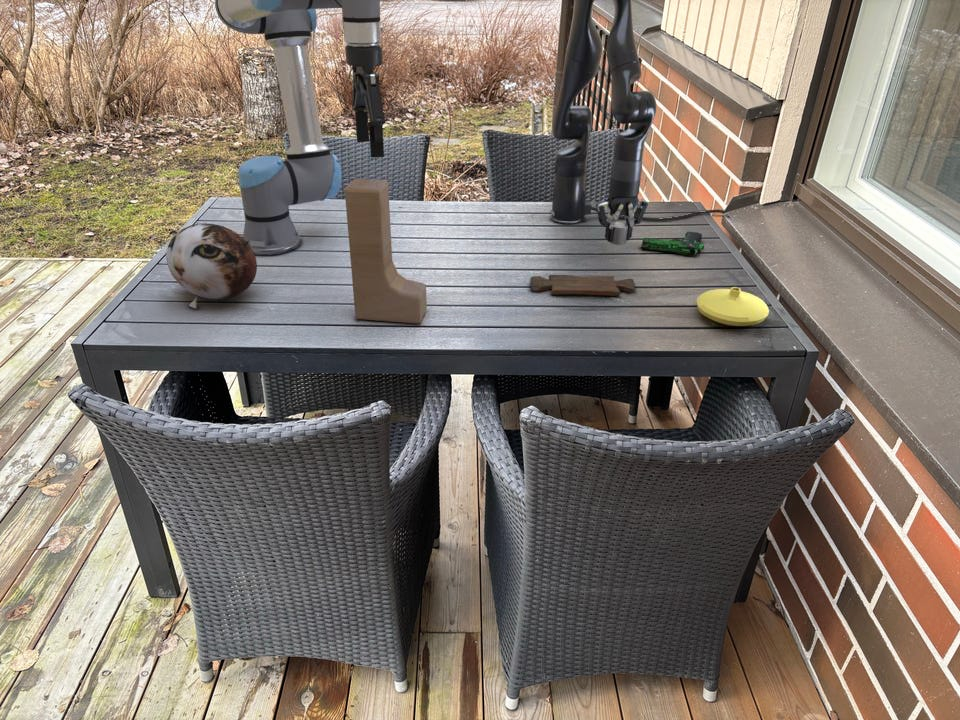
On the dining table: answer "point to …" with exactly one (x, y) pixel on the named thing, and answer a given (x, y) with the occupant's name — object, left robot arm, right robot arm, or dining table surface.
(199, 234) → the plush toy
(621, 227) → the can
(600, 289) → the wooden paddle board
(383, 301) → the decorative block
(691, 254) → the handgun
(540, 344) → the dining table surface
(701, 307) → the yellow lid
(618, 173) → the right robot arm
